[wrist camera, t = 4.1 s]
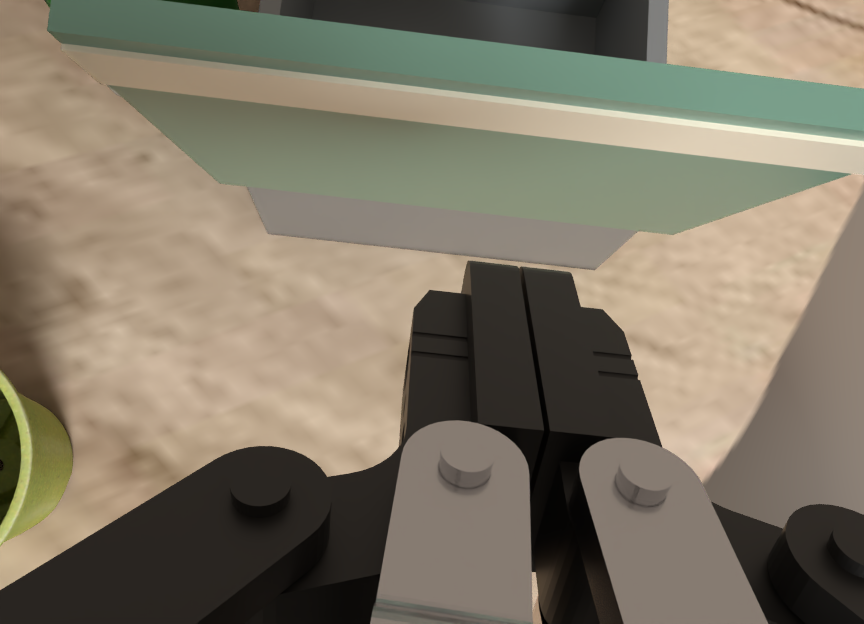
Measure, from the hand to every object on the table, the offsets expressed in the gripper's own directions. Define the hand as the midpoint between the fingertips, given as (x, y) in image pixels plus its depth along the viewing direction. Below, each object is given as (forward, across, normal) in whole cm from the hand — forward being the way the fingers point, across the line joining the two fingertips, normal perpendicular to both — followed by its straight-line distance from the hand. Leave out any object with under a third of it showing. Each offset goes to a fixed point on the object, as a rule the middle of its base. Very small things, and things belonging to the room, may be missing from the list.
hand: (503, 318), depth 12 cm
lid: (+11, 0, +1) cm, 11 cm away
